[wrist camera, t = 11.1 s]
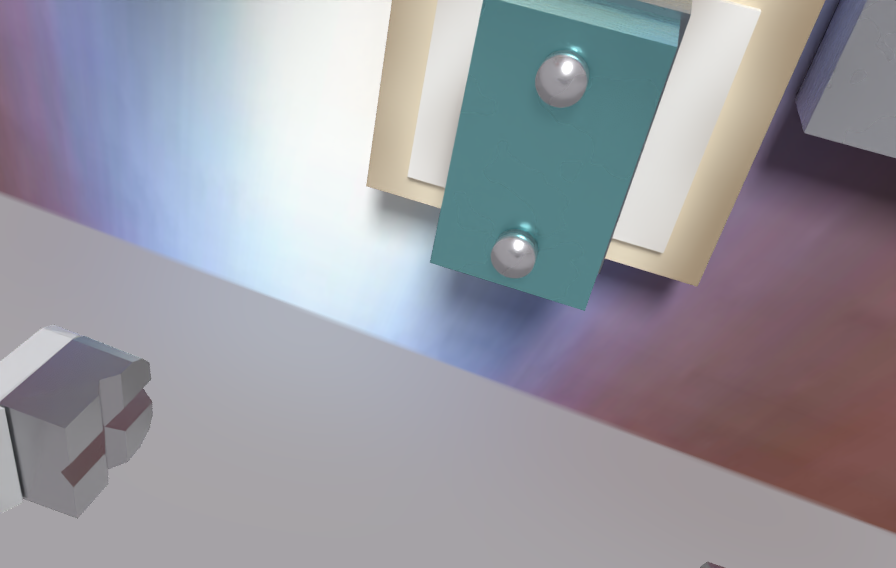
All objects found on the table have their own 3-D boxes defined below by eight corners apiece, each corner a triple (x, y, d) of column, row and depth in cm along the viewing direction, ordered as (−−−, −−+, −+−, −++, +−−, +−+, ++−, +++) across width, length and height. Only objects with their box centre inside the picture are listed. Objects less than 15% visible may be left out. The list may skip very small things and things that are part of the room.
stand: (818, -35, 24) (833, -12, 21) (698, 244, 29) (697, 291, 27) (438, -130, 25) (405, -119, 22) (393, 154, 31) (363, 189, 28)
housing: (692, -8, 22) (688, 48, 17) (607, 235, 26) (586, 330, 22) (519, -52, 23) (471, -10, 18) (465, 193, 27) (416, 276, 22)
